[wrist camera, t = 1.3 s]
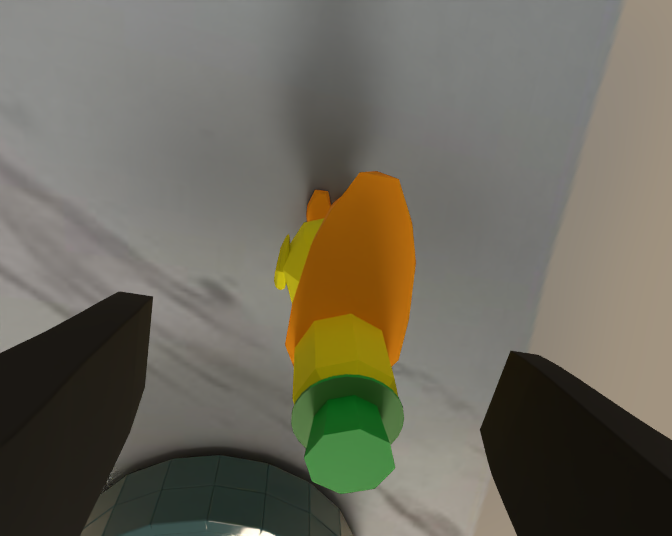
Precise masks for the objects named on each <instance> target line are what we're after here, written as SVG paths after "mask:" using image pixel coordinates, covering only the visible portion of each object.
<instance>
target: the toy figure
mask: <svg viewBox="0 0 672 536" xmlns="http://www.w3.org/2000/svg"><path fill="white" fill-rule="evenodd" d="M306 217H307V222H304V223H303V225H302V226H301V228H300V229H299V231H298V232H297V234H296V236H295V237H294V239H293V240H292V242H291V243H290V237H289V234H288V235H287V236H286V238H285V240H284V242H283V244H282V246H281V248H280V253H279V257H278V261H277V266H276V271H275V277H274V282H275V286H276V288H278V289H279V290H282V289H284V288H285V285H286V283H287V287H288V290H289V294H290V298H291V302H292V309H291V314H290V320H289V326H288V331H287V337H286V342H285V346H286V348H287V351H288V354H289V356H290V359H291V361H292V364H293V366H294V376H293V402H294V407H293V410H292V420H291V424H292V428H293V432H294V434H295V436H296V437H297V439H298V441H299V442H300V443H301V444H302V445H303V446H304V447H305V448H306V452H305V456H304V459H305V462H306V465H307V468H308V471H309V474H310V477H311V480H312V482H314V483H316V484H318V485H321V486H323V487H326V488H328V489H330V490H333V491H335V492H337V493H340V494H345V493H351V492H357V491H364V490H370V489H375V488H376V487H377V486H378V485H379V484H380V483H381V482H382V481H383V480H384V479H385V478H386V477H387V476H388V475H389V474H390V473H391V472H392V471H393V470H394V469H395V464H394V460H393V455H392V451H391V446H390V445H391V444H392V443H393V442H394V440H395V439H396V438H397V437H398V435H399V433H400V431H401V429H402V427H403V421H404V414H403V406H402V404H401V402H400V400H399V397H398V393H397V388H396V384H395V379H394V375H393V371H392V368H391V367H392V366H393V365H394V364H395V363H396V362H397V361H398V360H399V356H400V352H401V348H402V344H403V340H404V336H405V332H406V329H407V325H408V321H409V314H410V306H411V298H412V290H413V282H414V274H415V265H416V259H415V248H414V237H413V226H412V221H411V218H410V214H409V211H408V208H407V204H406V201H405V198H404V195H403V191H402V188H401V185H400V181H399V179H397V178H394V177H392V176H389V175H386V174H383V173H381V172H378V171H372V172H360V173H359V174H358V176H357V177H356V178H355V179H354V181H353V182H352V183H351V185H350V186H349V187H348V189H347V190H346V191H345V193H344V194H343V195H342V196H341V197H340V198H339V199H337V200H336V201H335V202H333V204H332V205H331V203H330V198H329V193H328V191H322V190H315V191H314V193H313V195H312V197H311V199H310V201H309V203H308V205H307V213H306Z"/></svg>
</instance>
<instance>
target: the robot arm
mask: <svg viewBox="0 0 672 536" xmlns="http://www.w3.org/2000/svg"><path fill="white" fill-rule="evenodd" d="M152 303H153V296H146V295H139V294H133V293H126V292H117V293H115V294H113V295H111V296H109V297H108V298H106V299H104V300H102V301H100V302H99V303H97V304H95V305H93V306H91V307H90V308H88V309H86V310H84V311H83V312H81V313H79V314H77V315H75V316H73V317H72V318H70V319H68V320H66V321H64V322H62V323H61V324H59V325H57V326H55V327H53V328H51V329H49V330H48V331H46V332H44V333H41V334H39V335H37V336H35V337H33V338H31V339H29V340H27V341H25V342H23V343H21V344H18V345H16V346H14V347H12V348H10V349H8V350H6V351H4V352H2V353H0V536H80V535H81V533H82V531H83V529H84V527H85V525H86V523H87V521H88V518H89V516H90V514H91V512H92V510H93V508H94V506H95V504H96V502H97V500H98V498H99V496H100V494H101V492H102V490H103V487H104V485H105V483H106V481H107V479H108V477H109V475H110V473H111V471H112V469H113V467H114V465H115V463H116V460H117V458H118V456H119V454H120V452H121V450H122V448H123V446H124V444H125V442H126V439H127V437H128V435H129V433H130V430H131V427H132V424H133V421H134V418H135V416H136V413H137V410H138V406H139V403H140V400H141V397H142V394H143V391H144V388H145V379H146V368H147V357H148V346H149V335H150V324H151V313H152ZM480 431H481V436H482V440H483V444H484V448H485V452H486V456H487V460H488V463H489V467H490V470H491V474H492V476H493V479H494V481H495V484H496V486H497V489H498V491H499V494H500V496H501V498H502V501H503V503H504V506H505V508H506V510H507V513H508V515H509V518H510V520H511V522H512V525H513V527H514V529H515V532H516V534H517V536H672V440H670V439H669V438H668V437H666V436H664V435H663V434H661V433H660V432H658V431H656V430H655V429H653V428H652V427H650V426H648V425H647V424H645V423H644V422H642V421H640V420H639V419H638V418H636V417H635V416H633V415H632V414H630V413H629V412H627V411H625V410H624V409H623V408H621V407H620V406H618V405H617V404H615V403H614V402H612V401H611V400H609V399H608V398H606V397H605V396H603V395H602V394H600V393H599V392H597V391H596V390H595V389H593V388H591V387H590V386H588V385H587V384H586V383H584V382H583V381H581V380H580V379H578V378H577V377H575V376H574V375H572V374H570V373H569V372H567V371H566V370H564V369H563V368H561V367H559V366H558V365H556V364H554V363H553V362H551V361H549V360H547V359H545V358H543V357H541V356H539V355H535V354H529V353H522V352H516V351H510V354H509V356H508V359H507V361H506V364H505V366H504V369H503V372H502V374H501V377H500V379H499V382H498V385H497V387H496V390H495V392H494V395H493V397H492V400H491V403H490V405H489V408H488V410H487V413H486V415H485V418H484V421H483V423H482V426H481V428H480Z"/></svg>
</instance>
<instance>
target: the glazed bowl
mask: <svg viewBox="0 0 672 536" xmlns="http://www.w3.org/2000/svg"><path fill="white" fill-rule="evenodd" d="M80 536H353V534H352V532H351V530H350V528H349V526H348V524H347V522H346V520H345V519H344V517H343V515H342V513H341V511H340V509H339V508H338V507H337V506H336V505H335V504H334V503H332V502H331V501H330V500H329V499H328V498H327V497H326V496H325V495H323V494H322V493H321V492H320V491H319V490H318V489H317V488H316V487H314V486H313V485H312V484H311V483H309V482H308V481H306V480H304V479H302V478H299V477H297V476H295V475H293V474H291V473H289V472H286V471H284V470H282V469H280V468H278V467H275V466H273V465H271V464H268V463H265V462H259V461H254V460H248V459H242V458H236V457H230V456H224V455H221V456H220V455H213V456H200V457H187V458H175V459H172V460H167V461H164V462H162V463H159V464H156V465H153V466H150V467H148V468H145V469H142V470H139V471H136V472H133V473H131V474H129V475H126V476H125V477H124V478H122V479H121V480H120V481H118V482H117V483H116V484H114V485H113V486H112V487H110V488H109V489H108V490H106V491H105V492H104V493H102V494H101V495H100V496H99V498H98V500H97V502H96V504H95V506H94V508H93V510H92V512H91V514H90V516H89V518H88V521H87V523H86V525H85V527H84V529H83V531H82V533H81V535H80Z"/></svg>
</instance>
